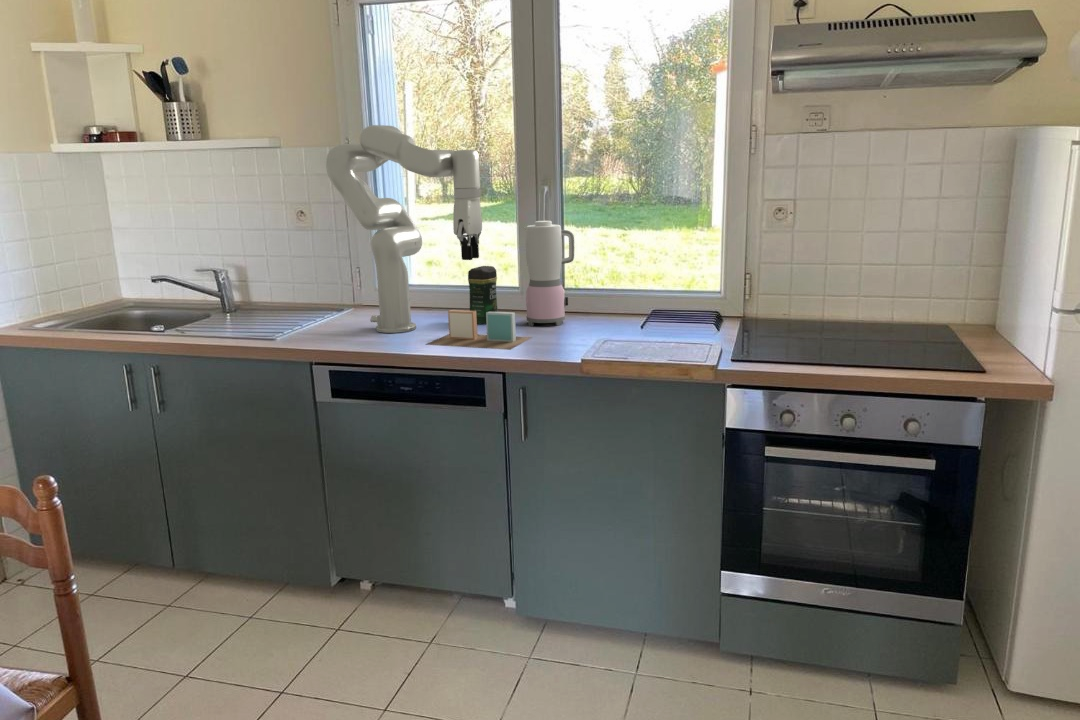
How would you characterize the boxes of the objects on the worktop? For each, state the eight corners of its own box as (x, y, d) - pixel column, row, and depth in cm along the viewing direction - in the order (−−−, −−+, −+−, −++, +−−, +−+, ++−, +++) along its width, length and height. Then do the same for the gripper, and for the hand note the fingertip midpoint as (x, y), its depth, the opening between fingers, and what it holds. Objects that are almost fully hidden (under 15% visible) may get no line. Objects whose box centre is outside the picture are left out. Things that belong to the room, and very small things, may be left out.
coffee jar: (488, 328, 254) (485, 268, 250) (466, 326, 258) (463, 267, 253) (502, 322, 263) (500, 264, 258) (481, 320, 266) (478, 264, 262)
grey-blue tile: (487, 340, 232) (485, 312, 230) (490, 338, 234) (488, 311, 232) (512, 342, 229) (511, 313, 227) (515, 340, 231) (514, 312, 229)
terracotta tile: (449, 338, 236) (447, 311, 234) (452, 336, 238) (451, 309, 236) (474, 339, 233) (472, 312, 231) (477, 338, 235) (476, 310, 233)
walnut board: (425, 347, 229) (425, 344, 229) (451, 336, 244) (451, 332, 243) (510, 353, 220) (510, 349, 220) (532, 340, 234) (532, 337, 234)
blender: (525, 327, 253) (522, 223, 246) (526, 319, 265) (523, 220, 258) (576, 326, 253) (574, 221, 246) (574, 318, 265) (573, 219, 258)
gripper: (468, 193, 241) (471, 255, 245) (441, 196, 226) (445, 262, 230) (491, 193, 238) (494, 255, 243) (466, 195, 223) (469, 262, 228)
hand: (470, 258), depth 237 cm, fingers open, 3 cm apart
